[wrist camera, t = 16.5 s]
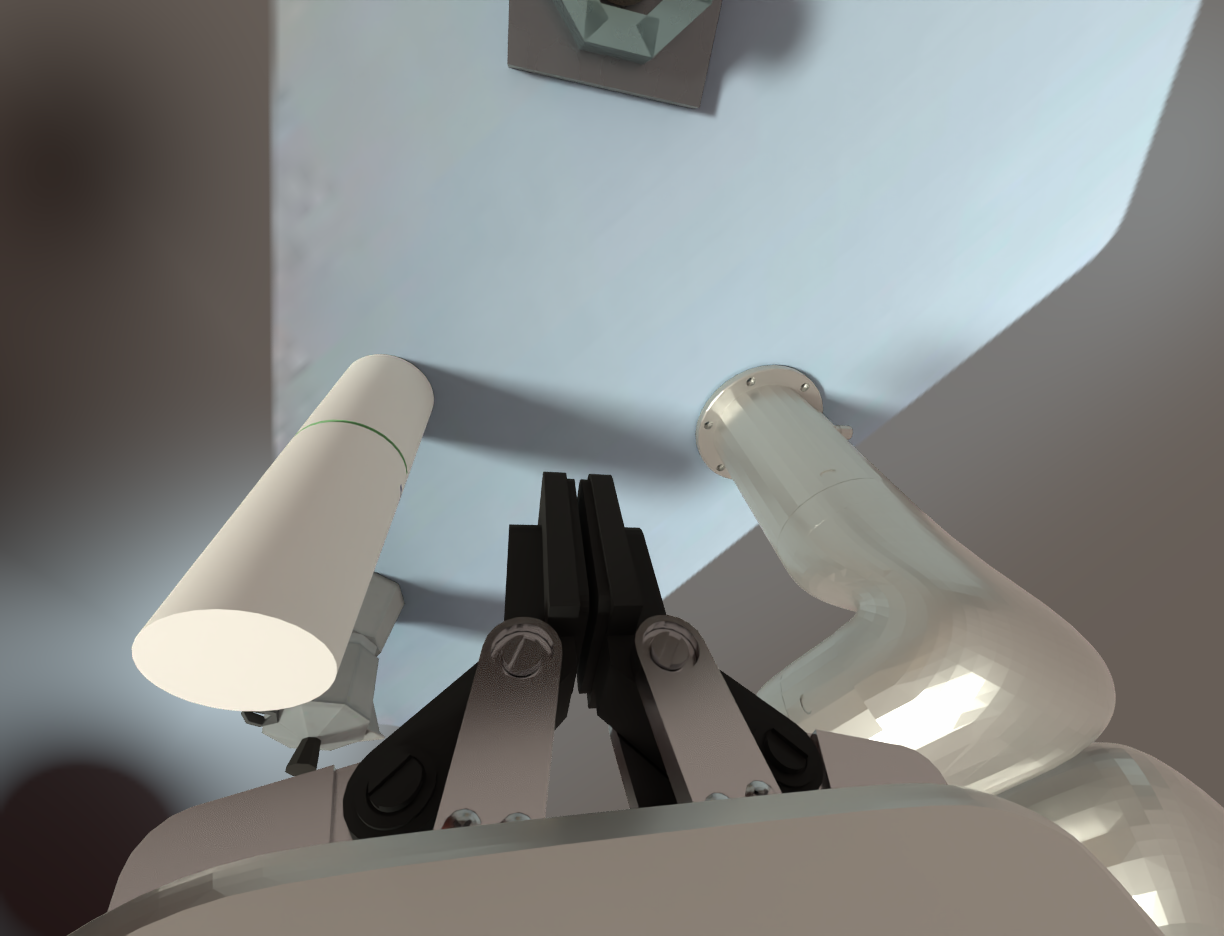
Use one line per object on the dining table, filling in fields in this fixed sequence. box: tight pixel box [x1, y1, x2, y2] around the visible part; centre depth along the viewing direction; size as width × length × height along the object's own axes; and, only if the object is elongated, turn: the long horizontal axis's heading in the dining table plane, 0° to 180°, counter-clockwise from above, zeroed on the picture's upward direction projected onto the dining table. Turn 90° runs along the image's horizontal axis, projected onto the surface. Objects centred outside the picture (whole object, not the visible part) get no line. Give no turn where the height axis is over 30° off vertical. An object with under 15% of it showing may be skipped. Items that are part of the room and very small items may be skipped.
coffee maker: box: [241, 572, 405, 776], centre depth 45 cm, size 15×9×18 cm, turn 42°
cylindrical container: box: [132, 354, 434, 711], centre depth 29 cm, size 7×7×25 cm
